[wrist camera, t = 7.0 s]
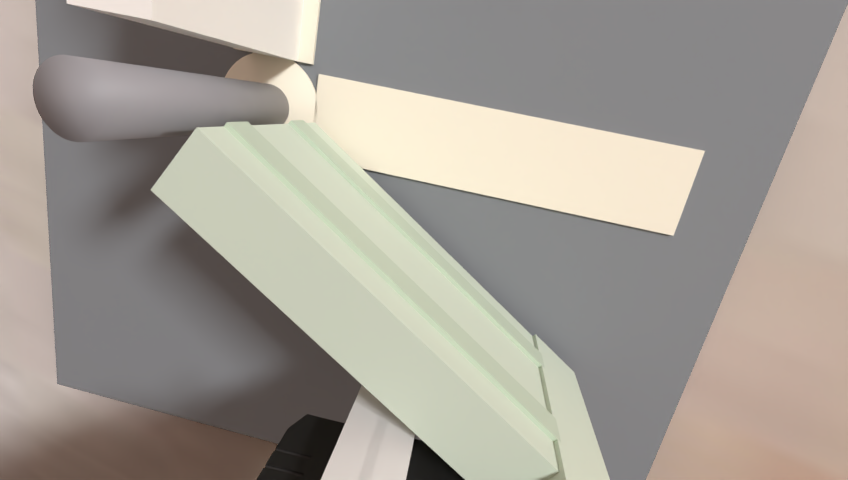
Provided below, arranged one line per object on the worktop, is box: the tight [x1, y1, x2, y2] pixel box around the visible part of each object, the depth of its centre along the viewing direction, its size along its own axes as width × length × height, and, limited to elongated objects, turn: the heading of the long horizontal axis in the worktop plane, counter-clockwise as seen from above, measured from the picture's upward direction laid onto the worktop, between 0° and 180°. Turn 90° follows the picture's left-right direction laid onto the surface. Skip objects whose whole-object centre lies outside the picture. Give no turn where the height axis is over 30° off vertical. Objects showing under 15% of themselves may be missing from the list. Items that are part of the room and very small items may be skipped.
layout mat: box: [35, 0, 848, 480], centre depth 12 cm, size 20×20×1 cm
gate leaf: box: [151, 120, 610, 480], centre depth 10 cm, size 10×2×6 cm, turn 46°
